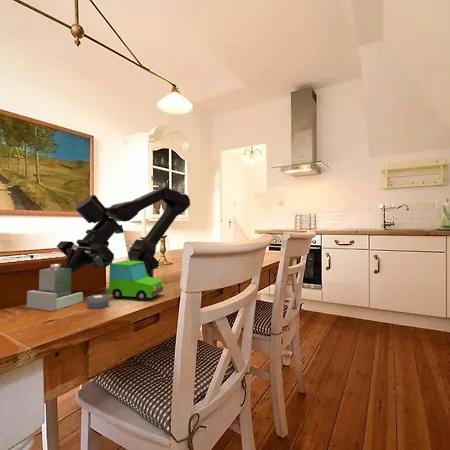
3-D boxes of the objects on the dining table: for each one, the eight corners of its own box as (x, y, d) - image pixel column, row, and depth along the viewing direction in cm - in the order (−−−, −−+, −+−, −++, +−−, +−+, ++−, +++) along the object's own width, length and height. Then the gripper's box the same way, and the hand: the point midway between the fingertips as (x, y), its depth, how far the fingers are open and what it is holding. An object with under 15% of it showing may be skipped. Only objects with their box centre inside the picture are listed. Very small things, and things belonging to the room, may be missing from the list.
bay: (59, 298, 77) (59, 284, 77) (82, 301, 74) (82, 286, 74) (26, 307, 68) (27, 291, 68) (52, 311, 66) (52, 294, 66)
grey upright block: (56, 300, 74) (57, 262, 74) (70, 302, 73) (71, 263, 73) (38, 305, 69) (39, 265, 69) (53, 307, 68) (54, 266, 68)
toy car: (150, 303, 75) (151, 266, 75) (106, 299, 77) (107, 264, 77) (165, 294, 85) (166, 262, 85) (126, 291, 87) (127, 260, 87)
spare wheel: (97, 302, 74) (97, 293, 74) (112, 304, 72) (112, 295, 72) (82, 308, 69) (82, 297, 69) (98, 310, 67) (98, 299, 67)
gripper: (136, 253, 84) (105, 297, 75) (96, 249, 93) (63, 288, 83) (116, 227, 77) (79, 271, 68) (74, 226, 86) (36, 265, 76)
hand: (64, 275), depth 74 cm, fingers closed
